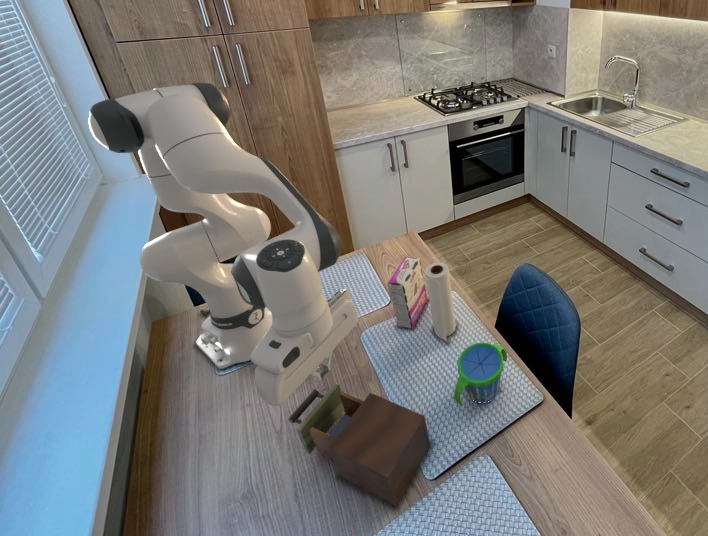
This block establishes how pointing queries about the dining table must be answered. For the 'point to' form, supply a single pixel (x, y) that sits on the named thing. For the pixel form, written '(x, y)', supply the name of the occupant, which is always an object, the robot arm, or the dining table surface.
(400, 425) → the cabinet
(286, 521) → the dining table surface
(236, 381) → the dining table surface
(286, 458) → the dining table surface
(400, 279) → the candy bar box
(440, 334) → the paper towel roll
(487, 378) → the snack cup
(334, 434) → the block
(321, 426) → the drawer
